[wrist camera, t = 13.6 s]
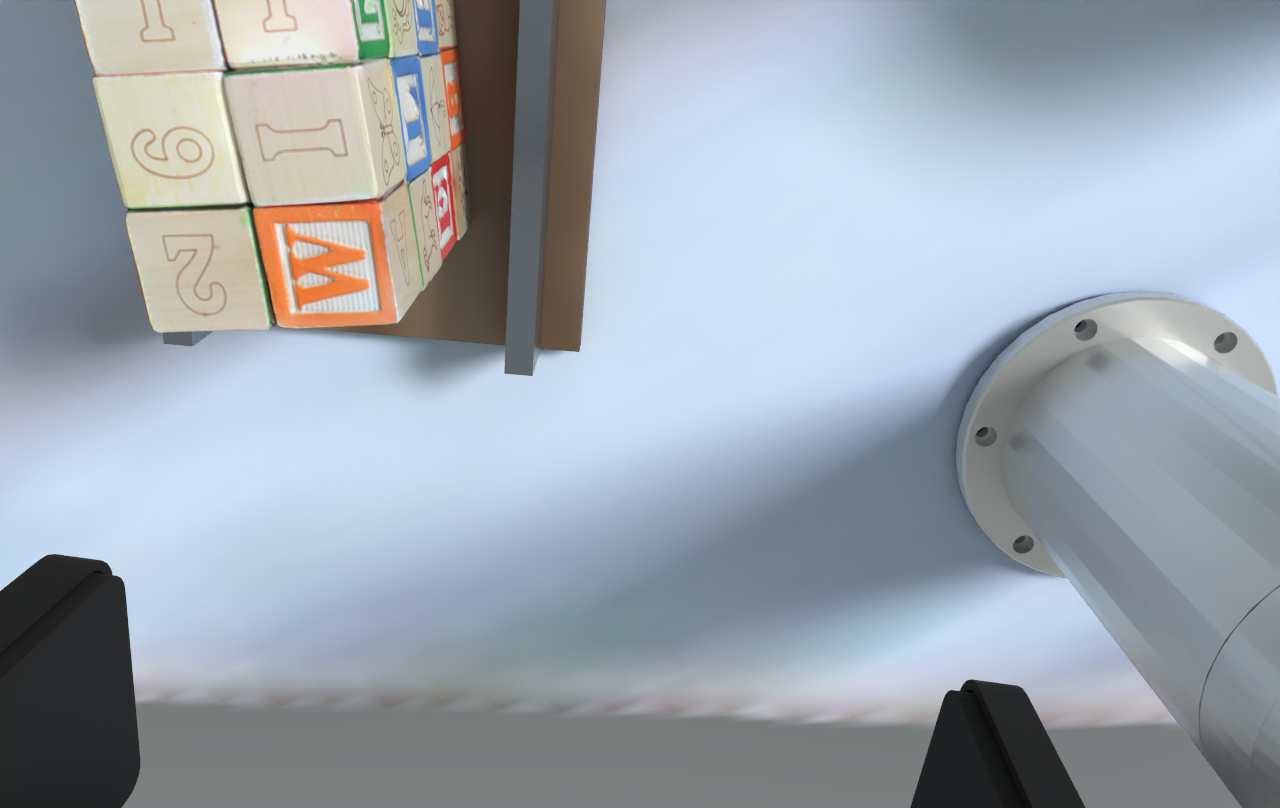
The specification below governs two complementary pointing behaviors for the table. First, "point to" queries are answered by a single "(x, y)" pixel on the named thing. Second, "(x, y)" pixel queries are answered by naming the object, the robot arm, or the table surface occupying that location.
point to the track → (516, 183)
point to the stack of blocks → (282, 155)
